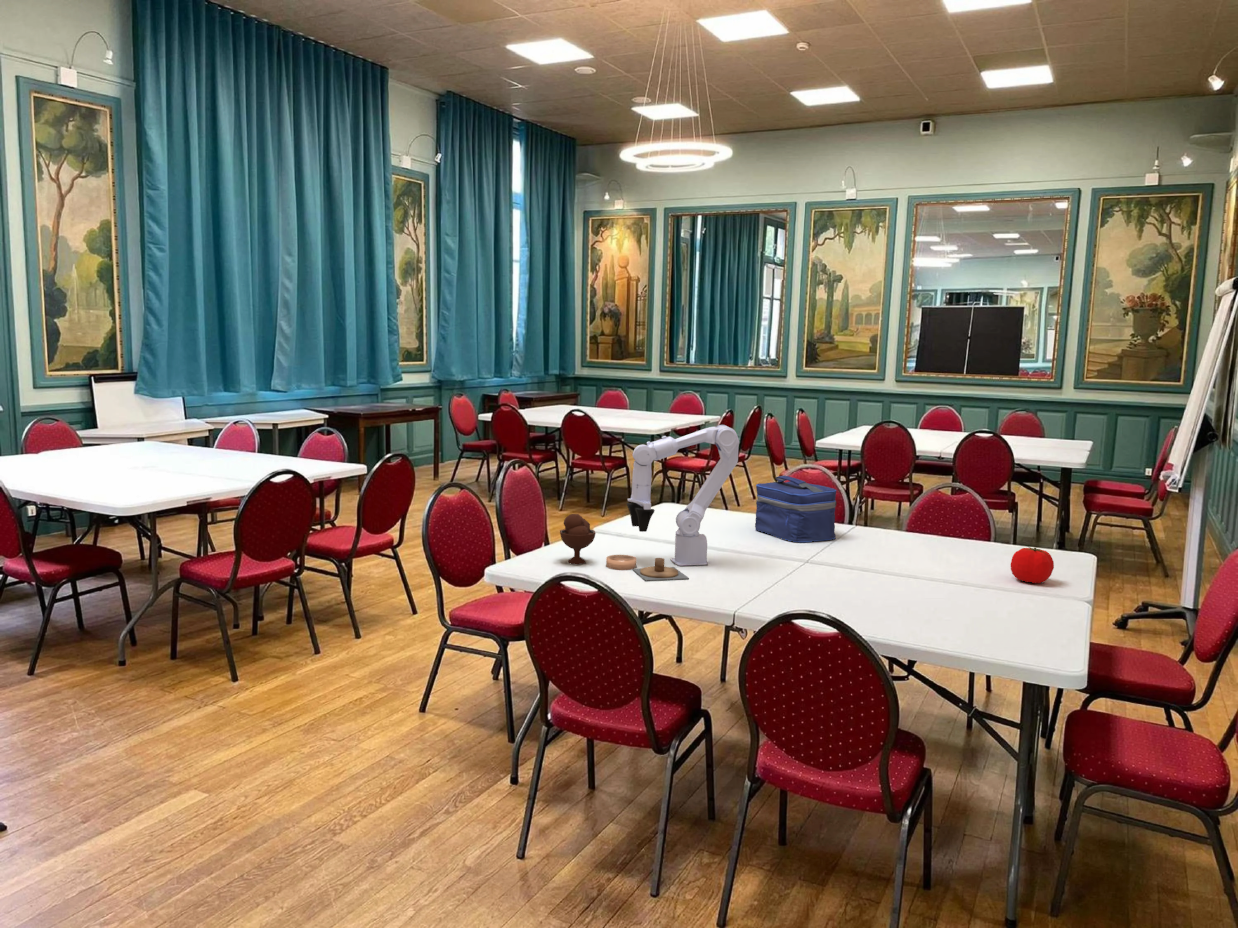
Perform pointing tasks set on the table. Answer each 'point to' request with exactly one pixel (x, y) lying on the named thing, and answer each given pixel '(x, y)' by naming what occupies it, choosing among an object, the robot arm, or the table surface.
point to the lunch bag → (796, 510)
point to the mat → (678, 577)
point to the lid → (659, 570)
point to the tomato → (1032, 565)
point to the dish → (621, 562)
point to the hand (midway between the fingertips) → (639, 528)
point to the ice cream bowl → (577, 536)
